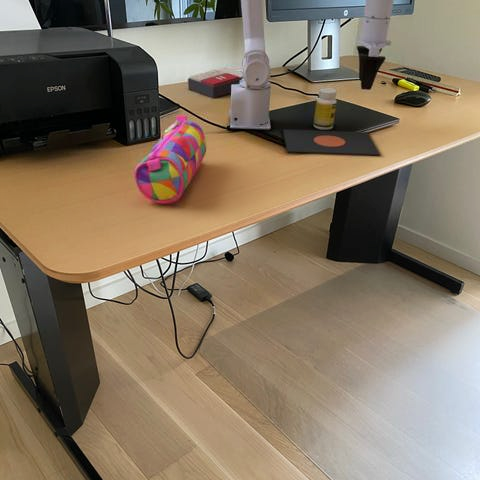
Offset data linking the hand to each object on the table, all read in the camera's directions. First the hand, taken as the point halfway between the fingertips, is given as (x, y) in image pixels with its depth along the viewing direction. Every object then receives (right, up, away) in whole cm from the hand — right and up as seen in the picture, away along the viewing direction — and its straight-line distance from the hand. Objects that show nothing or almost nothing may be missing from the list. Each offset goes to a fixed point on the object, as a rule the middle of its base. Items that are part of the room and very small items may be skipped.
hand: (364, 84), depth 117 cm
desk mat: (-9, -14, -3) cm, 17 cm away
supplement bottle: (-9, -8, +6) cm, 13 cm away
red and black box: (-35, +12, +29) cm, 47 cm away
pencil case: (-41, -29, -22) cm, 55 cm away
